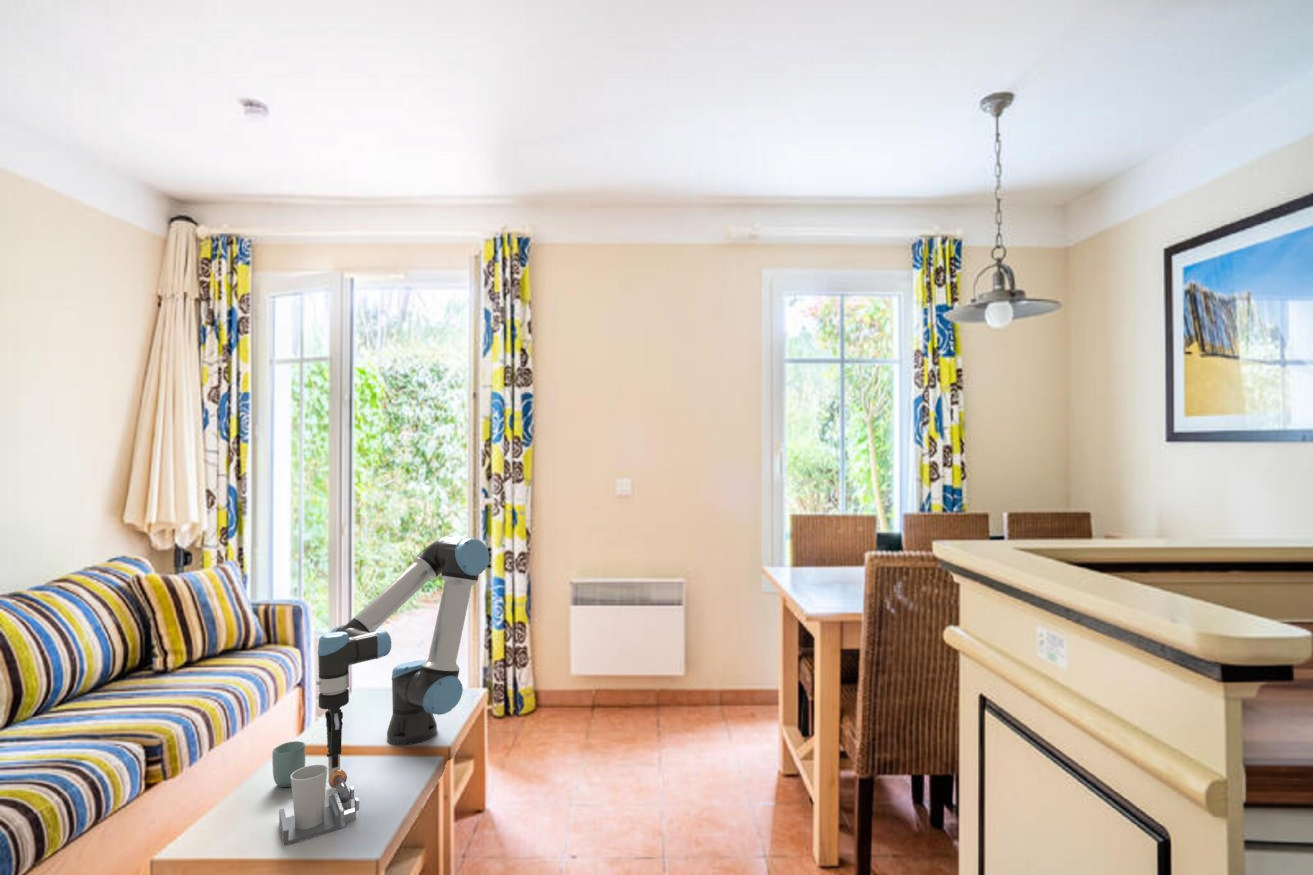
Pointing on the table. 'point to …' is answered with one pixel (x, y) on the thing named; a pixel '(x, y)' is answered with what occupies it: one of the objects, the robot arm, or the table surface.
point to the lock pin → (340, 784)
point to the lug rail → (347, 807)
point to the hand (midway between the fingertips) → (334, 777)
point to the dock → (294, 835)
